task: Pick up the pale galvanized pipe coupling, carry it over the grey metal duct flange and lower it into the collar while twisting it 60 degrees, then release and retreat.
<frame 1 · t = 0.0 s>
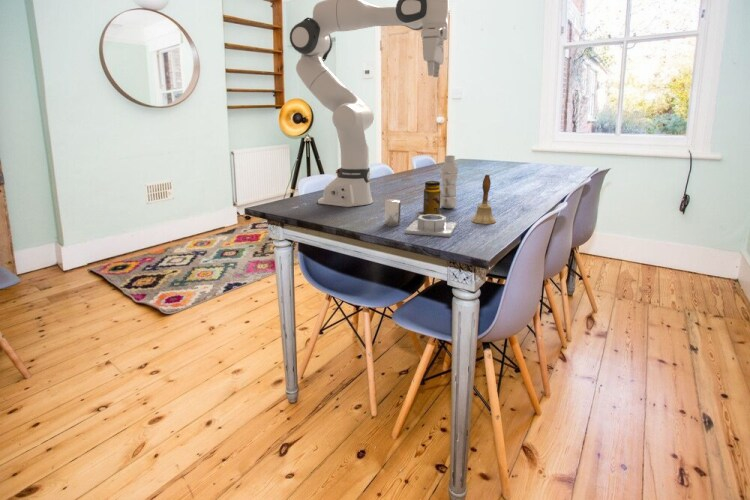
hand: (433, 76, 165), 48 cm above the table, tool pointing down, fingers open, 8 cm apart
plastic bottle: (447, 208, 177), on the table
duct flange: (431, 229, 147), on the table
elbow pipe: (392, 224, 154), on the table
hand bell: (483, 221, 157), on the table
condiment: (428, 214, 168), on the table
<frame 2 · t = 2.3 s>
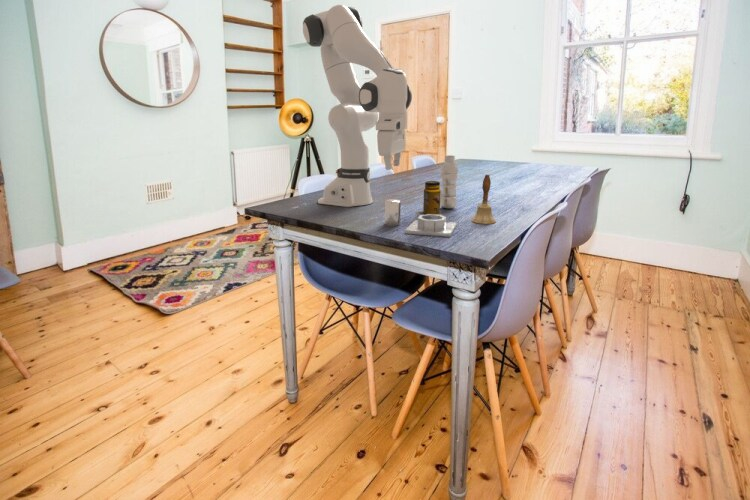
hand: (392, 167, 148), 19 cm above the table, tool pointing down, fingers open, 8 cm apart
nothing on the table moved.
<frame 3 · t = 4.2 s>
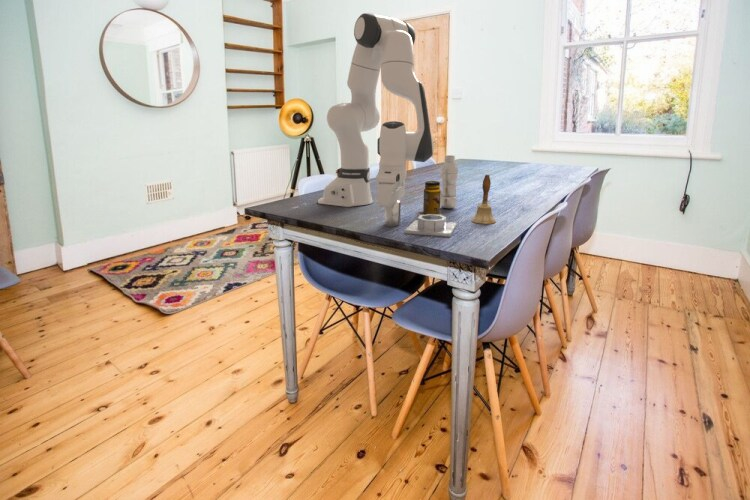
hand: (392, 215, 153), 3 cm above the table, tool pointing down, fingers closed on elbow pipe, 5 cm apart
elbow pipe: (392, 224, 154), on the table, touching gripper
everything else where it was.
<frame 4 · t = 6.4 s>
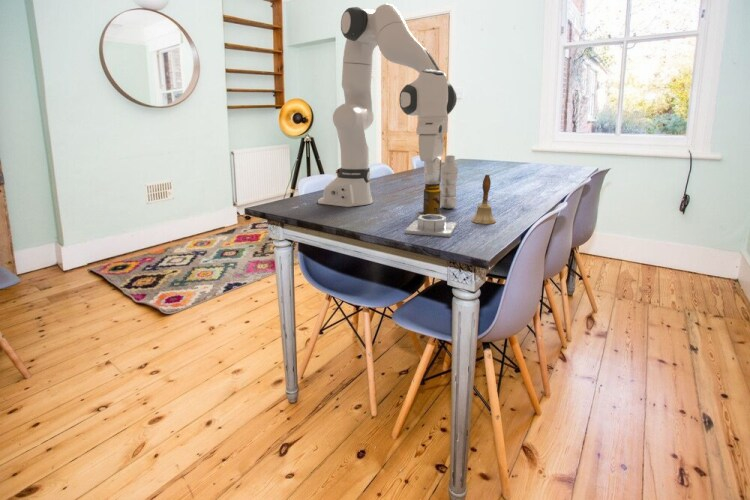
hand: (432, 173, 142), 18 cm above the table, tool pointing down, fingers closed on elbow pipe, 5 cm apart
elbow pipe: (432, 183, 143), point 15 cm above the table, touching gripper
everything else where it was.
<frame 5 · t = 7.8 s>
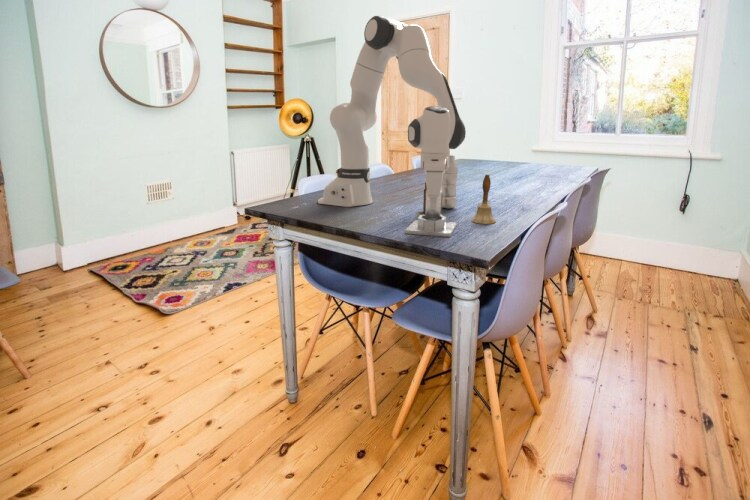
hand: (433, 205, 145), 8 cm above the table, tool pointing down, fingers closed on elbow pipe, 5 cm apart
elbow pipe: (433, 215, 146), point 5 cm above the table, touching gripper
everything else where it was.
when the fingers open (5 cm above the table, at t = 8.7 s): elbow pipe drops 2 cm, resting on duct flange.
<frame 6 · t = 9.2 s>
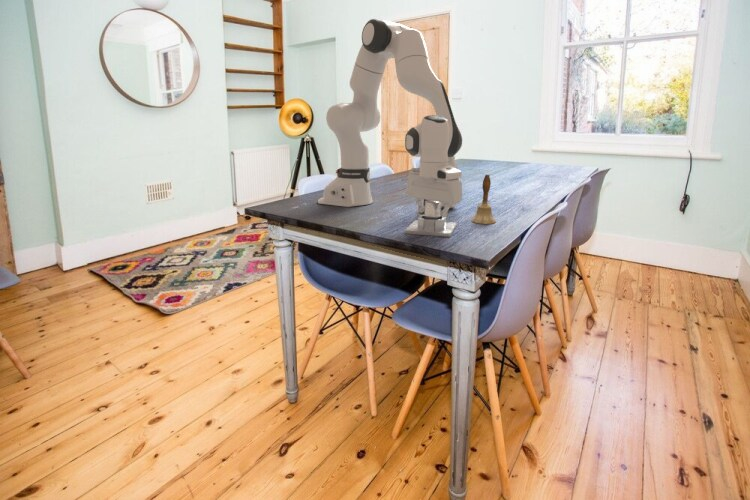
hand: (432, 214, 146), 5 cm above the table, tool pointing down, fingers open, 8 cm apart
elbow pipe: (432, 226, 147), point 1 cm above the table, touching duct flange
everything else where it was.
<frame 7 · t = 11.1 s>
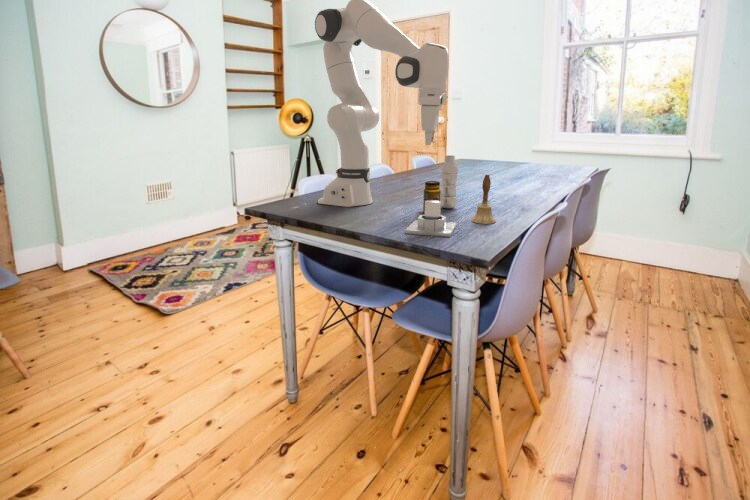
hand: (429, 143, 149), 26 cm above the table, tool pointing down, fingers open, 8 cm apart
nothing on the table moved.
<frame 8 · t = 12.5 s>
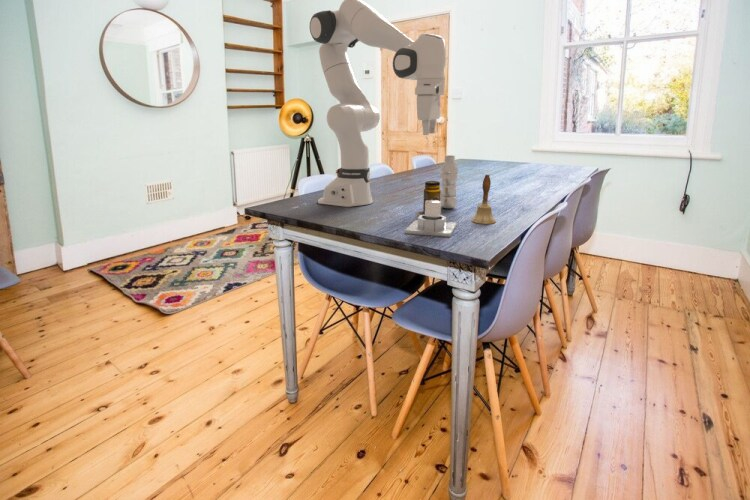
hand: (428, 134, 149), 29 cm above the table, tool pointing down, fingers open, 8 cm apart
nothing on the table moved.
at the end: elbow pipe 0.4 cm off-centre on the duct flange, point 1.0 cm above the duct flange's base; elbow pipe tilted 1°; the gripper is holding nothing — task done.
